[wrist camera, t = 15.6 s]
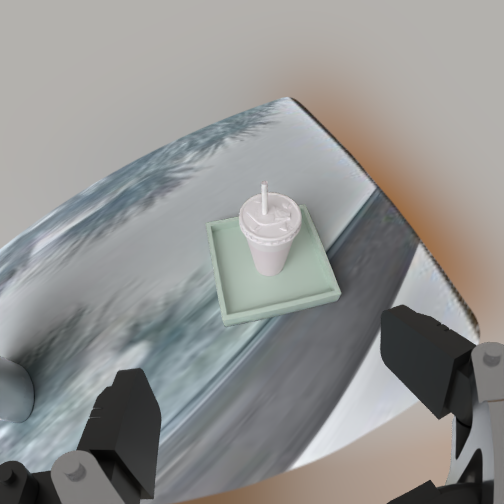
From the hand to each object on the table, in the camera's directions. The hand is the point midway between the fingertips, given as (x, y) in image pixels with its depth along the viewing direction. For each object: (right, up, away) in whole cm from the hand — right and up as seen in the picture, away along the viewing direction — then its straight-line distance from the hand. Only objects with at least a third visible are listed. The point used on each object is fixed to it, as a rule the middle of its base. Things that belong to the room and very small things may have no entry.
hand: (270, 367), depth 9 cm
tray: (+2, +2, +30) cm, 30 cm away
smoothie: (+2, +2, +29) cm, 29 cm away
